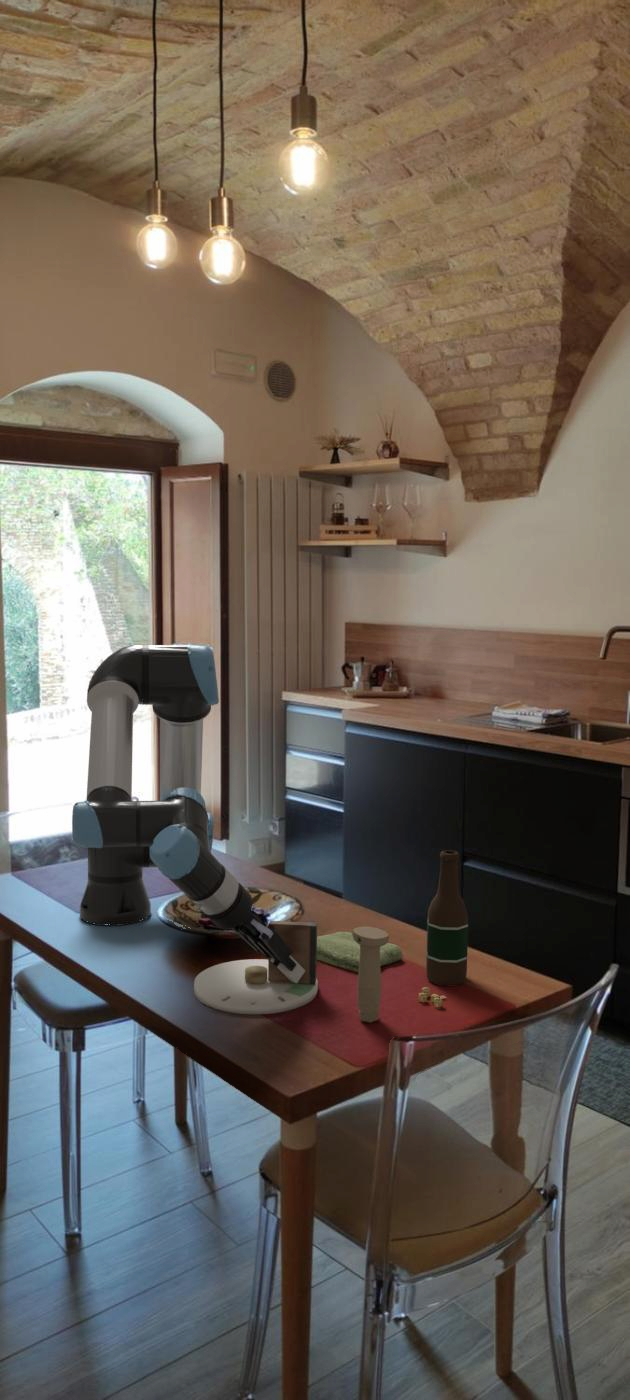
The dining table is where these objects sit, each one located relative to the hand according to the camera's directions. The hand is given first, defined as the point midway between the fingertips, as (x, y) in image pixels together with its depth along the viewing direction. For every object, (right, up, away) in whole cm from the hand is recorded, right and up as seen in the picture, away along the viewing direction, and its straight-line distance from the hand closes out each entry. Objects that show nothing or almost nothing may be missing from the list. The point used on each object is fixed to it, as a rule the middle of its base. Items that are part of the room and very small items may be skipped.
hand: (297, 975), depth 185 cm
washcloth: (+10, -2, +21) cm, 23 cm away
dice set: (+23, -5, 0) cm, 24 cm away
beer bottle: (+27, -3, +10) cm, 29 cm away
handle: (+12, -5, -9) cm, 16 cm away
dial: (-8, -3, +3) cm, 9 cm away
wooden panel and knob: (-3, -2, +3) cm, 5 cm away
